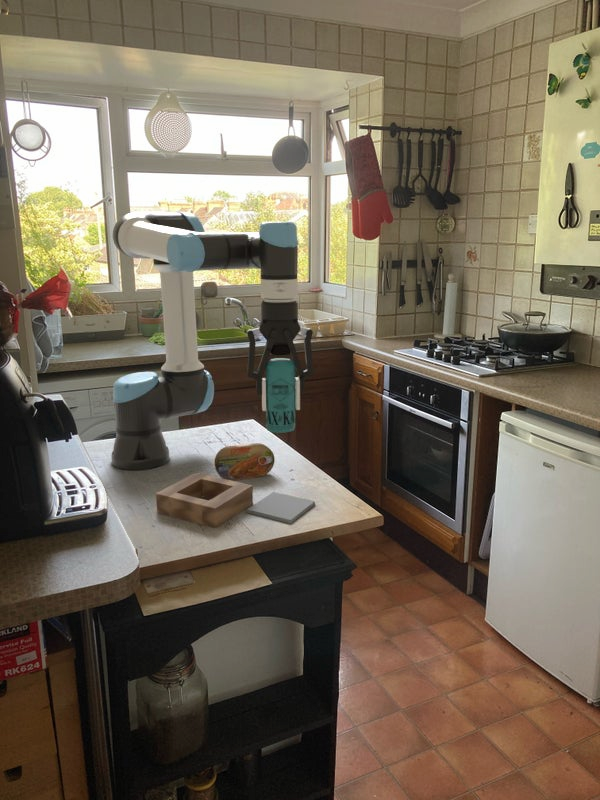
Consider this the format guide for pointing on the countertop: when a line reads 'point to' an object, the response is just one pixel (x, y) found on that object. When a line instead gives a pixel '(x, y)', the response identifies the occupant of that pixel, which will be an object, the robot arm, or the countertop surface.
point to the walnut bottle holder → (212, 513)
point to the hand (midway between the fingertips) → (280, 408)
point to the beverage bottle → (280, 392)
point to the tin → (244, 461)
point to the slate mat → (281, 507)
